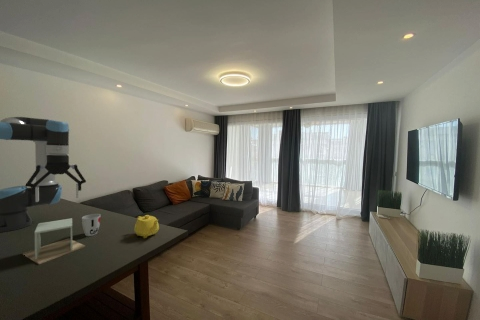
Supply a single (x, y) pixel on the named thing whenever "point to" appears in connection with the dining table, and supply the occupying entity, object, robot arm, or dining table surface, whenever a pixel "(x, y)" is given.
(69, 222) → the cover
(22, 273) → the dining table surface
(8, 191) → the robot arm
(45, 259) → the mat
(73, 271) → the dining table surface
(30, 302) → the dining table surface
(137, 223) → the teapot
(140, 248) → the dining table surface
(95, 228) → the cup
